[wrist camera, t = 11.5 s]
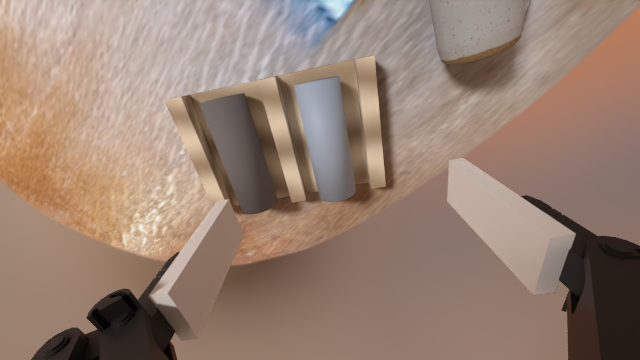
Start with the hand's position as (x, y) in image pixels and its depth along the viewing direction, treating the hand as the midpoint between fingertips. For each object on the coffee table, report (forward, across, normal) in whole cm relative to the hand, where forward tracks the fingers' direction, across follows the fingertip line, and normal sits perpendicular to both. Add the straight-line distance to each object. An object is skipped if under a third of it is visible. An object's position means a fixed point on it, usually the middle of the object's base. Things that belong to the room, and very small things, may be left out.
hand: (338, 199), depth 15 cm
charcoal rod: (+17, -13, -1) cm, 22 cm away
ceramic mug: (+19, +17, +10) cm, 28 cm away
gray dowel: (+18, 0, -1) cm, 18 cm away
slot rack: (+19, -6, -1) cm, 20 cm away
